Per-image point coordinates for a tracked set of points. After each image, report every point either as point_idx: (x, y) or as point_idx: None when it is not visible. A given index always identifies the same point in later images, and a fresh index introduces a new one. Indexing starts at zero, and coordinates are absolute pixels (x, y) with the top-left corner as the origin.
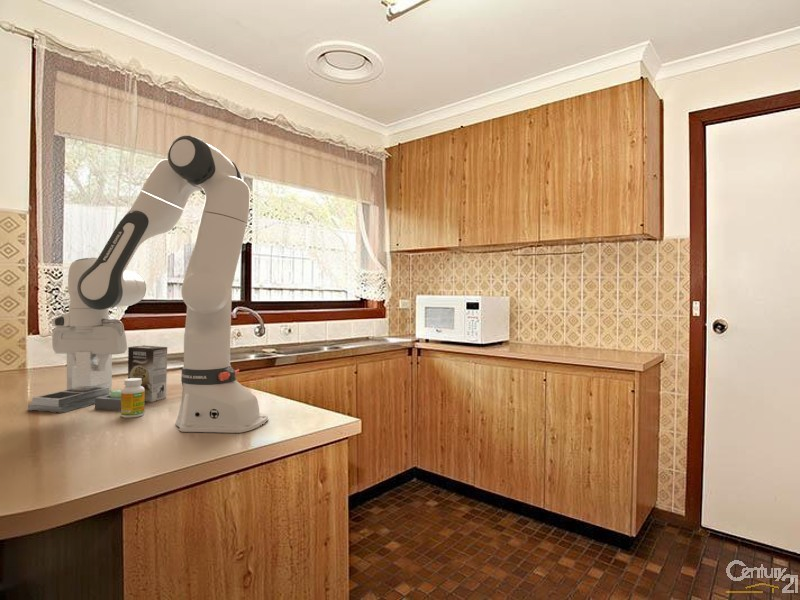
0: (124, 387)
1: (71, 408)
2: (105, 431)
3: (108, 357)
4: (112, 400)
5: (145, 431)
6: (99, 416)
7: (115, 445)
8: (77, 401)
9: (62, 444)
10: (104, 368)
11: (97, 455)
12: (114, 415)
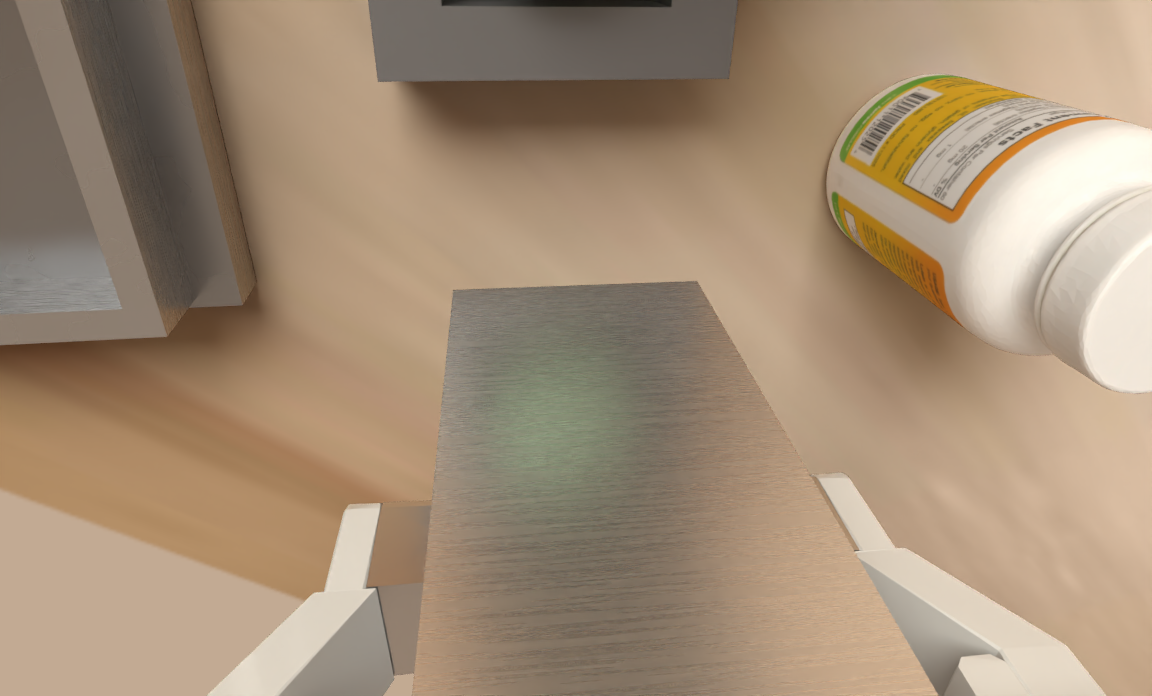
0: (1004, 303)
1: (227, 188)
2: (925, 487)
3: (1058, 648)
4: (633, 78)
5: (1143, 425)
6: (660, 266)
7: (1076, 592)
8: (127, 78)
9: None
10: (849, 494)
11: None
12: (757, 207)
